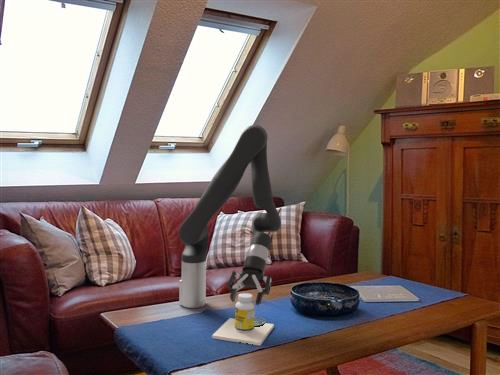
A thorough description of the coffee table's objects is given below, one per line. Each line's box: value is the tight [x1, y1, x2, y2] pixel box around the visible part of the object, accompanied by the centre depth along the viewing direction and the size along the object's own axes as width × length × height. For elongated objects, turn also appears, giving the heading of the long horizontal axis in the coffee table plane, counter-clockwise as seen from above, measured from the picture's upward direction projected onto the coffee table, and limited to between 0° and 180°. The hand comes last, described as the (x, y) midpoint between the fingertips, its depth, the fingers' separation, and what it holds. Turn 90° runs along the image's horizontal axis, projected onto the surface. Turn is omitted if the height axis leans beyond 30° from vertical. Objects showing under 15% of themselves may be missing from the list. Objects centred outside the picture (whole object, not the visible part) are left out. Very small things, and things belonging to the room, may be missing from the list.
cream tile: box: [211, 317, 275, 346], centre depth 161 cm, size 16×16×1 cm
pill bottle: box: [234, 292, 256, 332], centre depth 161 cm, size 6×6×12 cm
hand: (244, 302), depth 161 cm, fingers open, 8 cm apart
